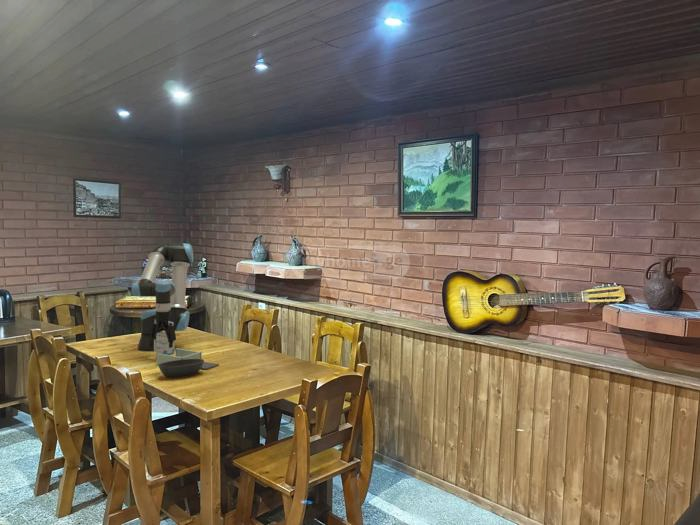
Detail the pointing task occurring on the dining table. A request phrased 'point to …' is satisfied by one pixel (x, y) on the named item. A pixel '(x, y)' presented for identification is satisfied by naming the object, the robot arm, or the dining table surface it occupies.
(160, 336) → the ink box
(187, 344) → the dining table surface
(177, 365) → the bowl
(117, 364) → the dining table surface
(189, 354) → the grey open box
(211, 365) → the stand mat
